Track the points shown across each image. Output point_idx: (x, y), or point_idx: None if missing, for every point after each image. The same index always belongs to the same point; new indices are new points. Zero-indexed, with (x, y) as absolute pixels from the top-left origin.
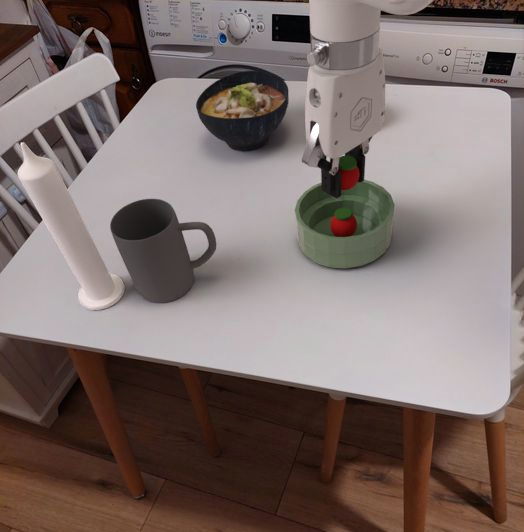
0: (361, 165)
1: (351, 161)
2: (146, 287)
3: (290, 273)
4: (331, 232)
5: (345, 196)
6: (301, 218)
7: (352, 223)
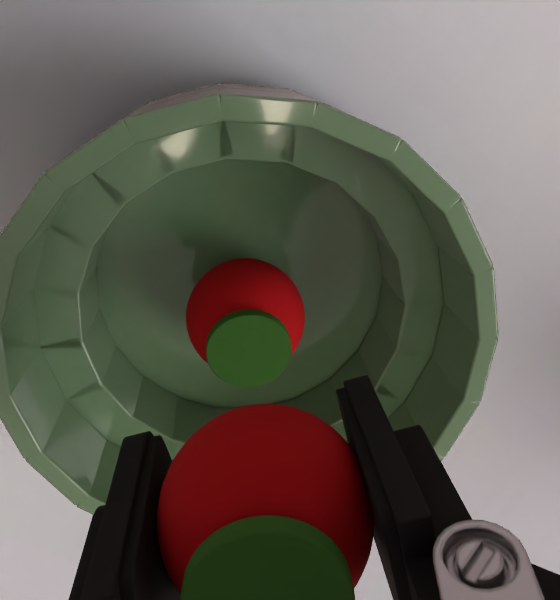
0: (132, 534)
1: (230, 596)
2: None
3: (515, 229)
4: None
5: None
6: None
7: (230, 286)
